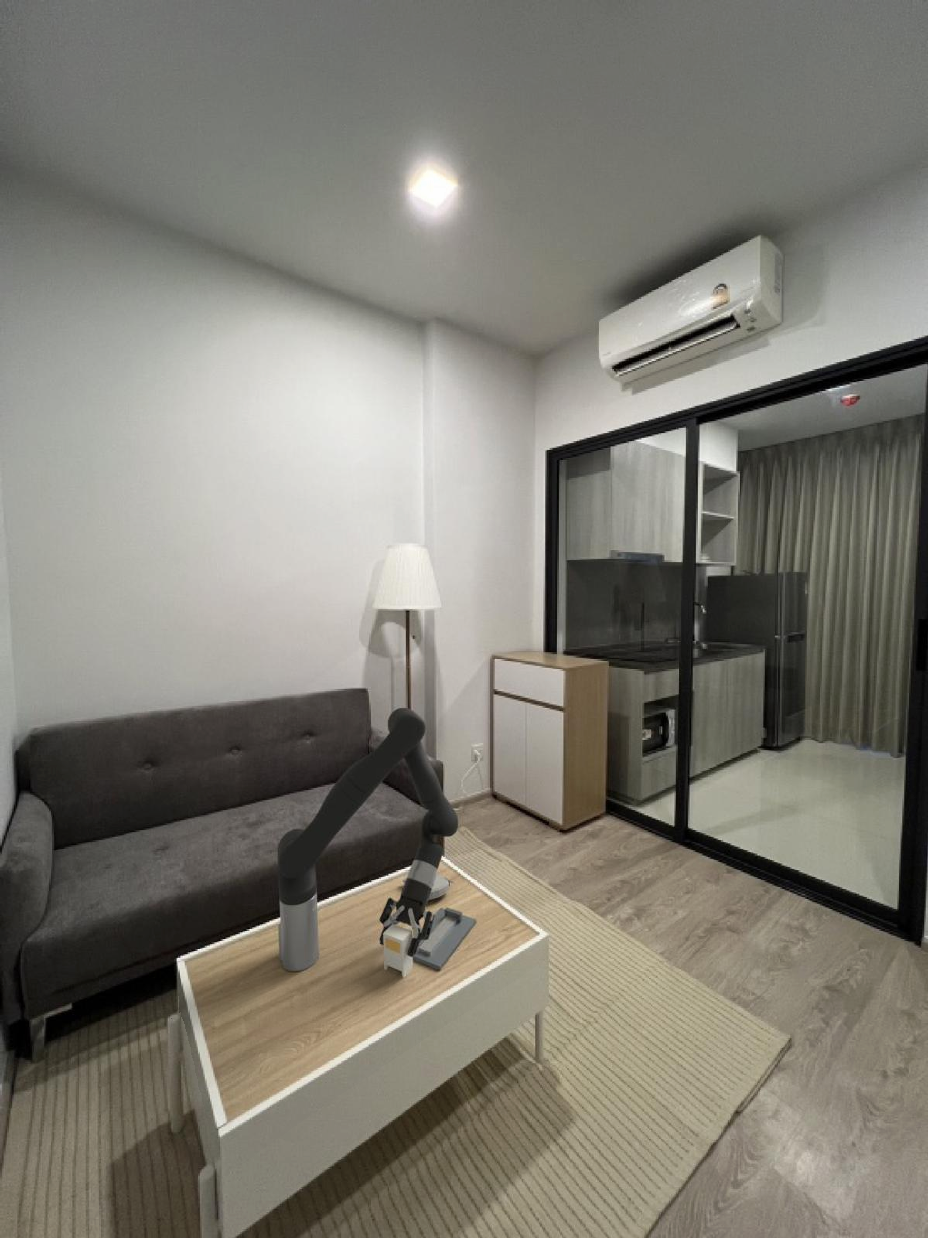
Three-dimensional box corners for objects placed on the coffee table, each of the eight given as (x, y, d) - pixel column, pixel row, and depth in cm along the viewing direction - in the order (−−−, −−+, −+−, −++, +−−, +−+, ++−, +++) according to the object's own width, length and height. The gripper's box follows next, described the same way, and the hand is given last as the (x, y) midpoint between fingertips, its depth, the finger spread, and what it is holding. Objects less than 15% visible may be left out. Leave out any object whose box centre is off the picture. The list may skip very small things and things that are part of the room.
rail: (416, 950, 127) (416, 941, 127) (447, 914, 142) (446, 906, 141) (433, 956, 125) (432, 947, 125) (462, 920, 139) (462, 912, 139)
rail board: (401, 954, 127) (401, 951, 127) (440, 910, 145) (440, 907, 145) (440, 970, 122) (440, 966, 122) (476, 922, 139) (476, 919, 139)
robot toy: (400, 889, 158) (422, 909, 146) (399, 875, 158) (421, 894, 146) (433, 876, 165) (456, 895, 152) (432, 863, 165) (455, 880, 152)
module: (383, 969, 122) (382, 933, 122) (393, 958, 126) (392, 923, 126) (403, 978, 120) (402, 941, 119) (412, 966, 123) (411, 930, 123)
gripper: (392, 871, 132) (366, 938, 123) (436, 884, 126) (412, 956, 116) (404, 880, 137) (380, 945, 128) (447, 893, 130) (425, 963, 121)
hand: (395, 950), depth 122 cm, fingers open, 8 cm apart
